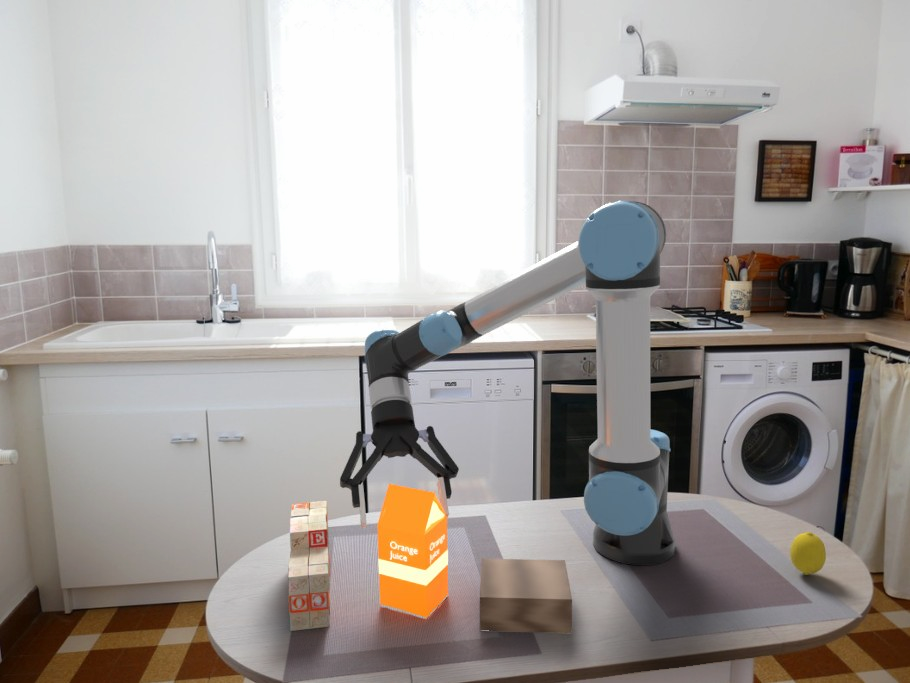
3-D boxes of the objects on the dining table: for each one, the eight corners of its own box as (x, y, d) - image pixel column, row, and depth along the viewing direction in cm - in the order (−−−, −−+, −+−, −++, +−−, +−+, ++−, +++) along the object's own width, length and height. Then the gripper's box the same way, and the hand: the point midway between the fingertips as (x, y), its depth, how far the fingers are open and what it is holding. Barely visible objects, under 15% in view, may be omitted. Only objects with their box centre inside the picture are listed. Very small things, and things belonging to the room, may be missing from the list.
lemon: (822, 570, 124) (826, 528, 123) (824, 585, 119) (828, 542, 118) (788, 564, 127) (791, 522, 125) (788, 578, 122) (792, 536, 120)
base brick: (564, 592, 119) (565, 560, 118) (571, 635, 107) (572, 599, 106) (482, 591, 120) (481, 558, 119) (479, 632, 108) (479, 597, 107)
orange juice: (403, 584, 121) (400, 475, 118) (449, 596, 118) (447, 484, 114) (379, 607, 115) (375, 492, 111) (426, 621, 111) (423, 502, 107)
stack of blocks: (331, 628, 109) (327, 555, 107) (290, 632, 108) (285, 559, 106) (330, 561, 130) (327, 499, 128) (295, 564, 129) (291, 502, 127)
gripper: (455, 412, 132) (475, 521, 121) (321, 422, 127) (328, 536, 116) (461, 393, 126) (482, 505, 115) (321, 402, 121) (328, 520, 110)
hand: (405, 521), depth 115 cm, fingers open, 13 cm apart
